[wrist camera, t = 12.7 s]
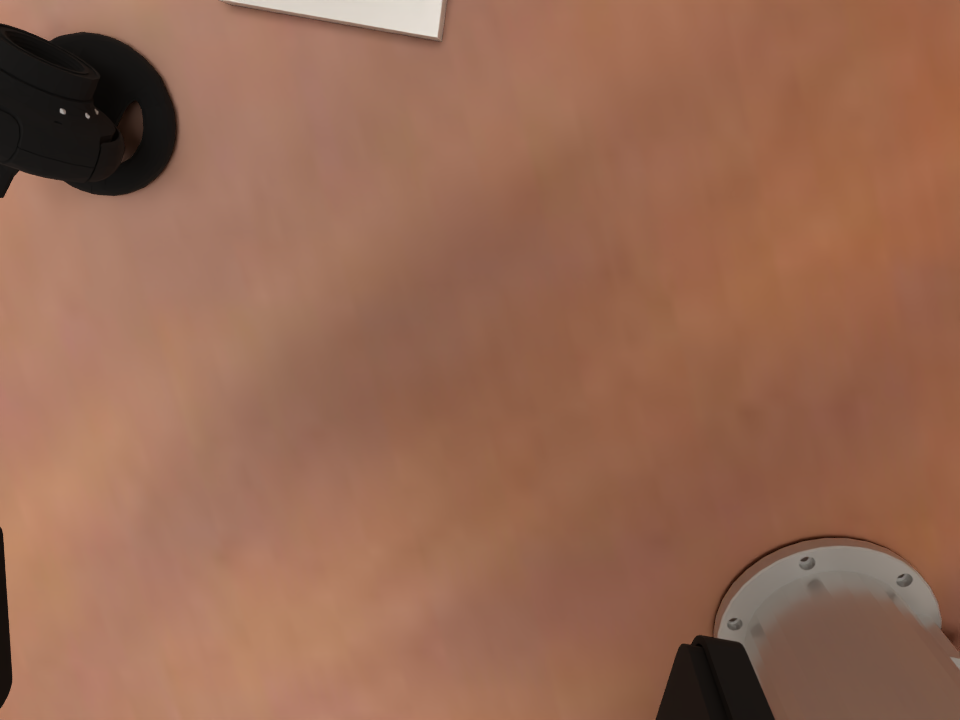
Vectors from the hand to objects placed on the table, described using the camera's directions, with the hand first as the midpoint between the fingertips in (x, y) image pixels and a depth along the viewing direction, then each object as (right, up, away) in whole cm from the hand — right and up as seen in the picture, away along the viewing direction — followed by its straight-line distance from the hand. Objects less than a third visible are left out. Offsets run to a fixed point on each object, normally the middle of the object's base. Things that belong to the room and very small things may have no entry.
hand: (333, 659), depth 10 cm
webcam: (-16, +16, +26) cm, 34 cm away
